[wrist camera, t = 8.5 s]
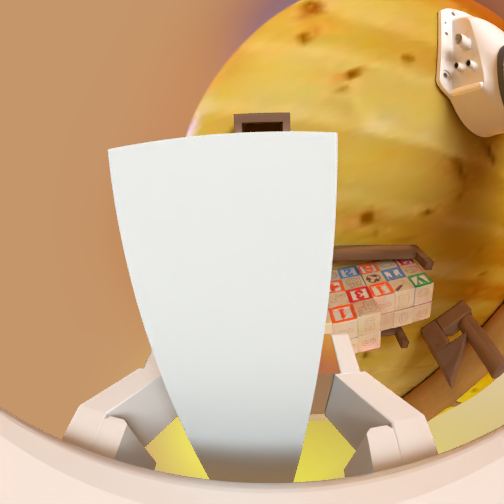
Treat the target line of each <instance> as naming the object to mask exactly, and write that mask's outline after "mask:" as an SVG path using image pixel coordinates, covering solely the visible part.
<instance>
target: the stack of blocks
mask: <svg viewBox="0 0 504 504" xmlns="http://www.w3.org/2000/svg"><path fill="white" fill-rule="evenodd" d="M433 287H434V282H433V281H432V280H431V279H430V277H429V276H428V275H427V274H426V273H425V272H423V271H422V269H421V268H420V267H419V266H418V265H417V264H416V263H415V262H414V261H413V260H412V259H385V260H380V261H376V262H370V263H365V264H360V265H357V266H352V267H347V268H342V269H338V270H332V271H331V281H330V291H329V300H328V308H327V316H326V324H325V331H324V334H330V333H341V332H346V333H348V335H349V338H350V341H351V344H352V347H353V350H354V353H355V354H356V353H358V352H363V351H368V350H372V349H375V348H379V347H380V338H381V331H383V330H387V329H391V328H396V327H400V326H404V325H407V324H411V323H412V322H416V321H420V320H423V319H426V318H429V317H430V311H431V305H432V295H433Z"/></svg>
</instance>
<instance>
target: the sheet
mask: <svg viewBox="0 0 504 504" xmlns="http://www.w3.org/2000/svg"><path fill="white" fill-rule="evenodd" d="M108 155H109V164H110V172H111V180H112V187H113V193H114V200H115V207H116V212H117V218H118V223H119V229H120V234H121V238H122V243H123V248H124V253H125V257H126V261H127V265H128V269H129V273H130V278H131V282H132V285H133V289H134V293H135V297H136V300H137V304H138V307H139V311H140V314H141V317H142V321H143V324H144V327H145V330H146V333H147V336H148V339H149V342H150V345H151V348H152V351H153V354H154V357H155V360H156V362H157V365H158V368H159V371H160V373H161V376H162V378H163V381H164V384H165V386H166V389H167V391H168V394H169V396H170V398H171V401H172V403H173V406H174V408H175V410H176V412H177V415H178V417H179V419H180V421H181V423H182V426H183V428H184V430H185V432H186V434H187V436H188V439H189V441H190V442H191V445H192V447H193V448H194V451H195V452H196V454H197V457H198V458H199V460H200V462H201V464H202V466H203V468H204V469H205V472H206V473H207V475H208V477H209V479H210V480H217V481H229V482H245V483H293V481H294V477H295V473H296V470H297V466H298V463H299V459H300V455H301V451H302V447H303V443H304V438H305V434H306V429H307V425H308V421H309V416H310V411H311V407H312V402H313V397H314V391H315V386H316V381H317V375H318V369H319V363H320V357H321V351H322V345H323V338H324V331H325V324H326V316H327V308H328V300H329V291H330V281H331V271H332V260H333V248H334V234H335V218H336V196H337V133H333V132H300V131H277V132H244V133H227V134H213V135H202V136H192V137H183V138H175V139H167V140H160V141H153V142H146V143H140V144H134V145H129V146H123V147H118V148H113V149H108Z"/></svg>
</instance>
